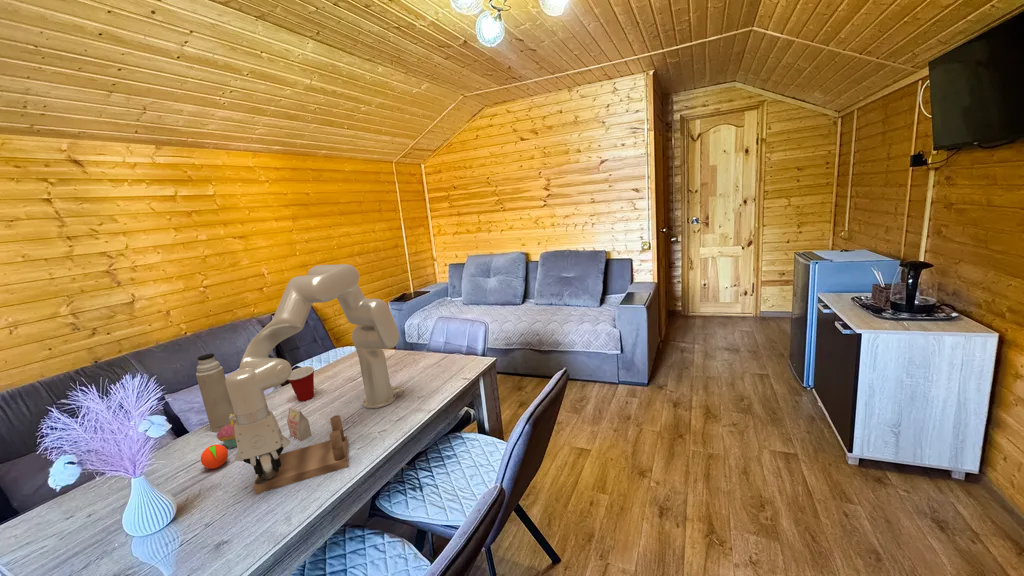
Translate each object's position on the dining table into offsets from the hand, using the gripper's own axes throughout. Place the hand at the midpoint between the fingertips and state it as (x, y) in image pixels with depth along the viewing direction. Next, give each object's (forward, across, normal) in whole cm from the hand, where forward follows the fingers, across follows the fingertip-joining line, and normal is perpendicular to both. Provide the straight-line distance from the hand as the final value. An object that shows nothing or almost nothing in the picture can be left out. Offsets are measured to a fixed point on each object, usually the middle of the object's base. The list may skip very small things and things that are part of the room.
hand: (269, 471), depth 117 cm
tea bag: (+5, +6, +25) cm, 26 cm away
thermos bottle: (+5, -21, +50) cm, 54 cm away
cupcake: (+5, -14, +32) cm, 36 cm away
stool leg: (+1, -1, +3) cm, 3 cm away
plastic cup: (+6, +6, +57) cm, 57 cm away
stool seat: (+4, +8, +4) cm, 10 cm away
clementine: (+4, -17, +20) cm, 26 cm away
